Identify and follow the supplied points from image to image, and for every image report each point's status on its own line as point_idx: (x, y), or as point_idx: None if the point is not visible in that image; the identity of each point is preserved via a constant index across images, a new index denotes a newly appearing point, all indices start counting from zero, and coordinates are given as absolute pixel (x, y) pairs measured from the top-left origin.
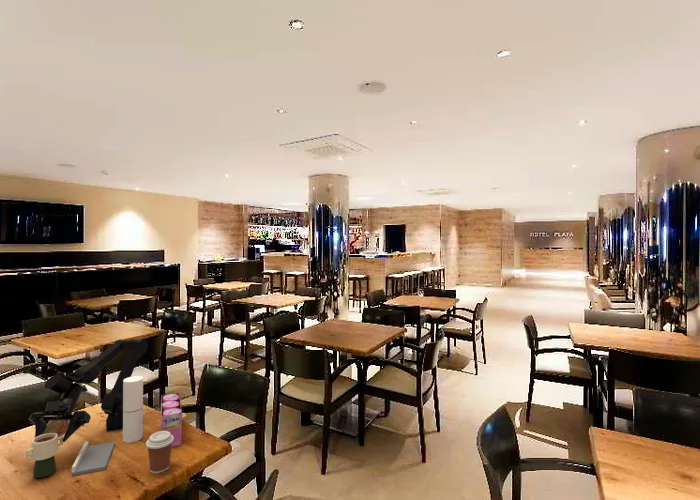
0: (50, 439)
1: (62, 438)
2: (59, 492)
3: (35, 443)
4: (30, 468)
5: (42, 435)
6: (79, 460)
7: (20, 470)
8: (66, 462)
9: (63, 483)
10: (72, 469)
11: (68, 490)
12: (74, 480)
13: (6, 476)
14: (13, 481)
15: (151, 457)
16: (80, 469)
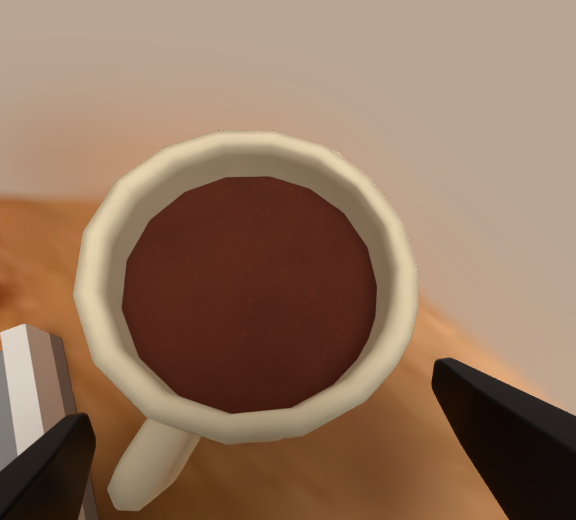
0: (212, 328)
1: (112, 476)
2: (56, 206)
3: (270, 131)
4: (398, 413)
5: (378, 346)
6: None
7: None
8: (203, 512)
9: (76, 272)
10: (31, 330)
11: (14, 219)
12: (21, 300)
13: (454, 326)
14: None
15: None
16: (1, 376)
